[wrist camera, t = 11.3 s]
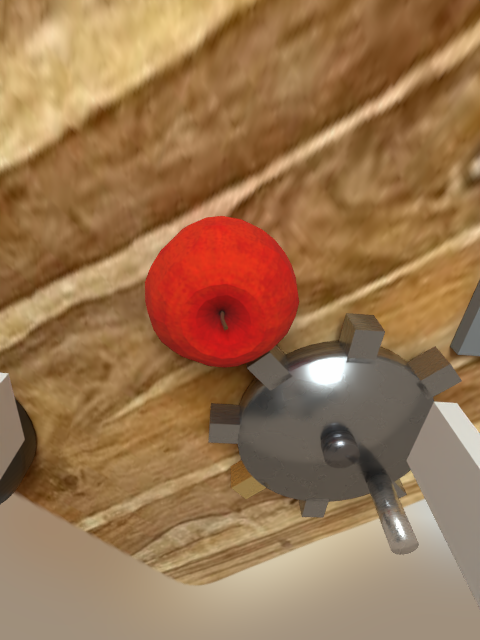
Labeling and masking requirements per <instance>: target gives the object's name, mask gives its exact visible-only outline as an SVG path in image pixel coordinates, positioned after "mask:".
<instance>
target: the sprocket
mask: <svg viewBox="0 0 480 640" xmlns="http://www.w3.org/2000/svg"><path fill="white" fill-rule="evenodd" d="M384 333H385V331H384V329H383V328H382V326H381V325H380V324H379V322H378V321H377V319H376V318H375V316H374V315H363V314H349V313H346V316H345V320H344V324H343V328H342V331H341V335H340V339H339V341H330V342H323V343H318V344H313V345H309V346H306V347H303V348H300V349H297V350H295V351H293V352H291V353H288V354H286V355H285V354H284V353H283V352H282V351H281V349H280V348H279V347H278V346H277V345H276V346H275V347H274V348H273V349H272V350H270V351H268V352H267V353H265V354H263V355H262V356H260V357H258V358H257V359H255V360H253V361H250V362H247V369H248V370H249V371H250V372H251V373H252V374H253V375H254V376H255V379H254V380H253V381H252V382H251V384H250V385H249V386H248V388H247V390H246V391H245V393H244V395H243V397H242V400H241V402H240V405H232V404H214V403H211V411H210V425H209V442H211V443H233V444H238V448H239V454H240V457H241V461H239V462H238V463H236V464H234V465H233V466H231V488H232V489H233V490H234V491H236V492H237V493H238V494H240V495H241V496H242V497H244V498H245V499H247V498H249V497H251V496H253V495H255V494H256V493H258V492H260V491H262V490H264V489H265V488H268V489H270V490H272V491H274V492H276V493H278V494H281V495H283V496H286V497H290V498H294V499H298V500H299V504H300V510H301V515H302V517H324V514H325V511H326V508H327V505H328V502H330V501H340V500H346V499H352V498H356V497H360V496H363V495H366V494H369V493H370V494H371V497H372V500H373V502H374V505H375V508H376V510H377V513H378V516H379V519H380V521H381V524H382V527H383V529H384V532H385V535H386V538H387V540H388V543H389V546H390V548H391V551H392V552H393V553H395V554H408V553H411V552H413V551H414V550H416V549H417V548H418V545H419V544H418V541H417V539H416V537H415V534H414V533H413V530H412V527H411V525H410V523H409V521H408V518H407V516H406V514H405V512H404V509H403V507H402V504H401V502H400V500H399V498H401V497H403V496H405V495H407V494H406V492H405V490H404V488H403V485H402V483H401V481H400V479H399V478H401V477H402V476H404V475H405V474H406V473H408V472H409V471H410V470H411V469H410V467H409V465H408V463H407V458H408V456H409V454H410V452H411V450H412V448H413V446H414V443H415V441H416V439H417V437H418V435H419V433H420V430H421V428H422V426H423V424H424V422H425V420H426V418H427V415H428V413H429V411H430V409H431V407H432V405H433V402H434V400H433V397H434V396H435V395H437V394H439V393H441V392H443V391H445V390H446V389H448V388H450V387H452V386H454V385H456V384H457V383H459V382H461V379H460V378H459V376H458V375H457V373H456V372H455V370H454V369H453V367H452V366H451V364H450V363H449V362H448V361H447V359H446V358H445V357H444V356H443V355H442V354H441V352H440V351H439V350H438V349H437V348H436V347H433V348H431V349H430V350H428V351H426V352H425V353H423V354H421V355H420V356H418V357H416V358H414V359H413V360H411V361H409V362H406V361H405V360H404V359H403V358H401V357H400V356H399V355H397V354H395V353H394V352H392V351H390V350H388V349H385V348H383V347H380V345H381V342H382V339H383V336H384ZM336 430H345V431H348V432H350V433H352V434H353V436H354V438H355V440H356V443H357V445H358V448H359V451H360V457H359V459H358V461H357V462H356V463H354V464H353V465H351V466H349V467H346V468H333V467H331V466H329V465H328V464H327V463H326V462H325V459H324V456H323V452H322V448H321V440H322V438H323V437H324V436H325V435H326V434H328V433H330V432H332V431H336Z"/></svg>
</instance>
